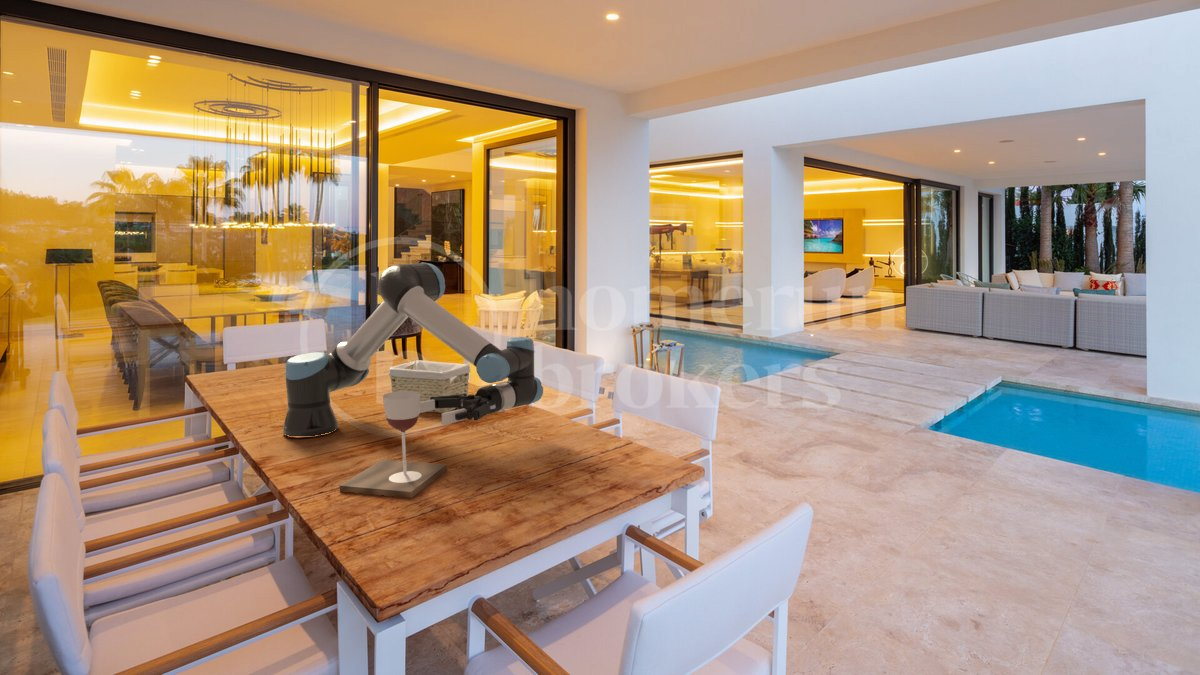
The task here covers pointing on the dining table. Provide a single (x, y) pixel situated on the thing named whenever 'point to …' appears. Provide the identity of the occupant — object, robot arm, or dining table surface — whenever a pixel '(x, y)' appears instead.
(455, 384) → the storage basket
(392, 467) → the walnut board
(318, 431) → the robot arm
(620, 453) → the dining table surface
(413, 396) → the wineglass
